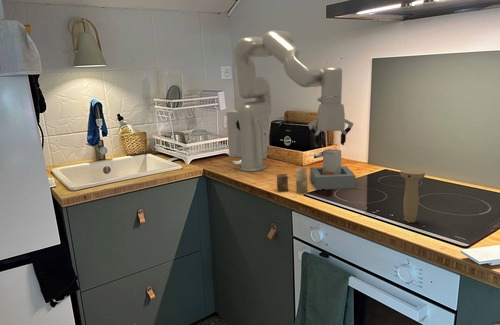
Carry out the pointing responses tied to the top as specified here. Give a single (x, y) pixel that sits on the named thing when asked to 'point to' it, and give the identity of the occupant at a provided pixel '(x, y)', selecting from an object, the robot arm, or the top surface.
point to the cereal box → (235, 135)
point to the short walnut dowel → (282, 182)
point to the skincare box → (331, 162)
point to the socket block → (332, 179)
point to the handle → (411, 193)
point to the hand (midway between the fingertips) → (329, 144)
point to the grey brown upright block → (301, 180)
